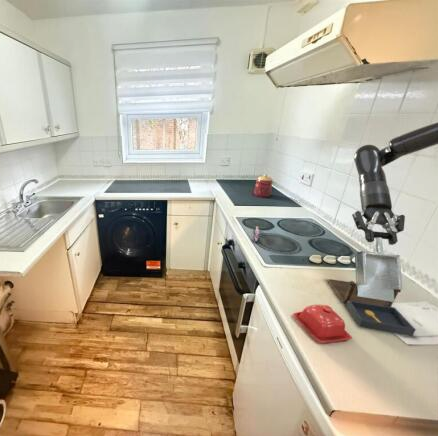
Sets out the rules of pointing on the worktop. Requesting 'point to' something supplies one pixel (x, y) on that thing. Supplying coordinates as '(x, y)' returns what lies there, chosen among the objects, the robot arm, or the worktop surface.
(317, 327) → the butter dish
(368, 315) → the key
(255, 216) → the worktop surface
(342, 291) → the stand
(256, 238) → the decorative key
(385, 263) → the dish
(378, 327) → the tray
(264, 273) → the worktop surface
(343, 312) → the worktop surface
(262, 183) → the kitchen canister
